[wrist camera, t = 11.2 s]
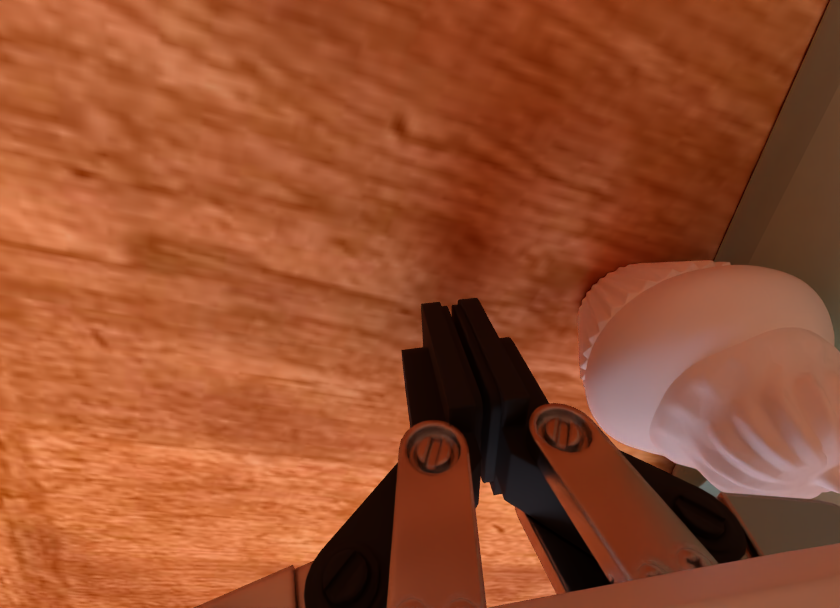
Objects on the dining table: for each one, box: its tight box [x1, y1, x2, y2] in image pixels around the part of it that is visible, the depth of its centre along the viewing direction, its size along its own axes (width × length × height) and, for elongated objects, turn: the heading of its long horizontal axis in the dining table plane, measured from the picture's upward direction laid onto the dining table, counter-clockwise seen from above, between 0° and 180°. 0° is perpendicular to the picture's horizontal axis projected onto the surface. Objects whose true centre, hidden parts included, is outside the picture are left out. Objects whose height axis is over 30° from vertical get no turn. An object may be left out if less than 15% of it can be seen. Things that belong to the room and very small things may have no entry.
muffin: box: [578, 260, 840, 499], centre depth 10 cm, size 6×6×7 cm
